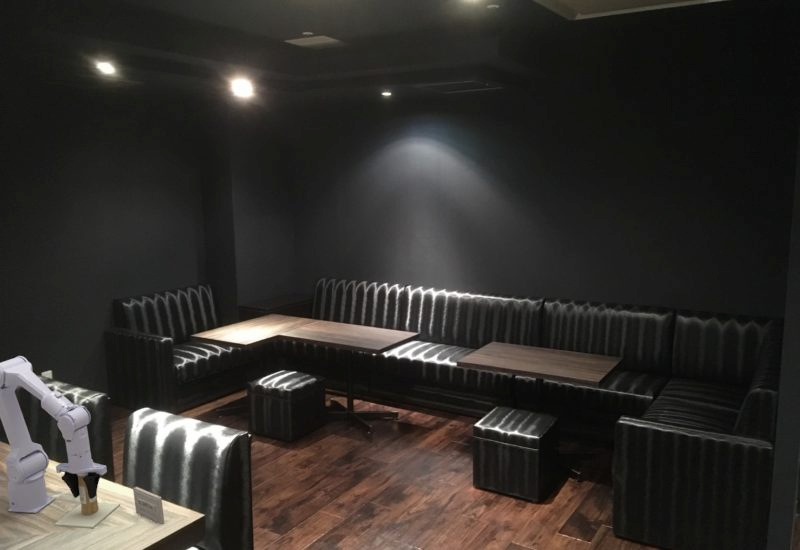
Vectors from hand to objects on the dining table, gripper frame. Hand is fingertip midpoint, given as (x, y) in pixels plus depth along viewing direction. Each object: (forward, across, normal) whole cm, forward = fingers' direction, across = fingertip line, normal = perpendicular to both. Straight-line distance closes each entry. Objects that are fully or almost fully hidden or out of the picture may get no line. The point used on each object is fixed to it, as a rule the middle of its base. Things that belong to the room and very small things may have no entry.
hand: (85, 496), depth 184 cm
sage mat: (+6, 0, 0) cm, 6 cm away
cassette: (+6, -19, -1) cm, 20 cm away
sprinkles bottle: (+5, 0, -1) cm, 6 cm away
